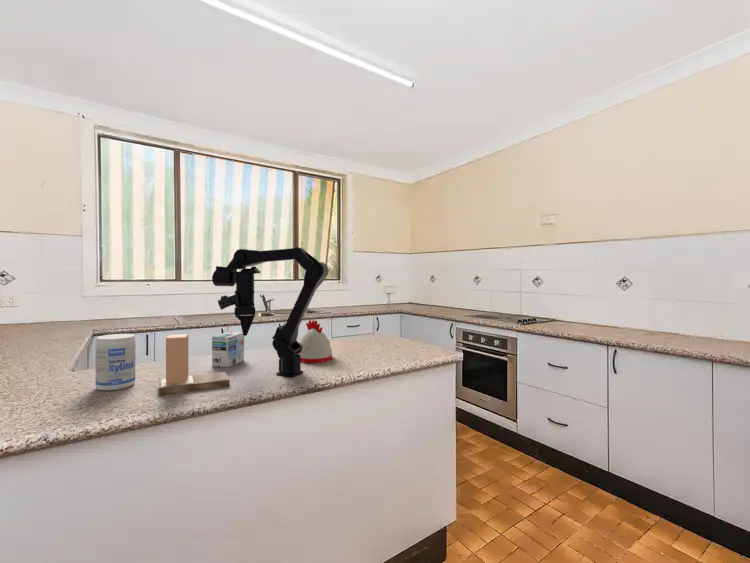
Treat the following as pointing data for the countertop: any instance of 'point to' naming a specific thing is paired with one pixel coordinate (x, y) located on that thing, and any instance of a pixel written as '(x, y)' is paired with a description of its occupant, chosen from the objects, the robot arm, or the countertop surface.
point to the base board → (195, 383)
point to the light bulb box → (227, 349)
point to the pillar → (177, 359)
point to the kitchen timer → (315, 345)
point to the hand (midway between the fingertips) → (245, 333)
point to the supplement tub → (115, 361)
